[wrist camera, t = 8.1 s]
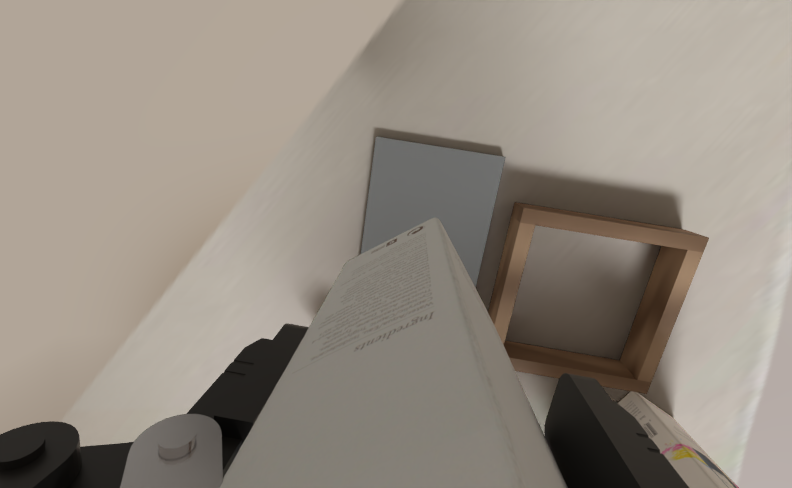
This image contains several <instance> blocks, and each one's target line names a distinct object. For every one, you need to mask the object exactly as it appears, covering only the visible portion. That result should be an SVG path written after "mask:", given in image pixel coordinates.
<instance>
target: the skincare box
mask: <svg viewBox="0 0 792 488" xmlns="http://www.w3.org/2000/svg"><path fill="white" fill-rule="evenodd" d="M220 488H568V487H567V485H566V483H565V481H564V478H563V476H562V474H561V472H560V470H559V467H558V465H557V463H556V461H555V459H554V456H553V454H552V452H551V450H550V447H549V445H548V443H547V441H546V439H545V436H544V434H543V432H542V430H541V428H540V425H539V423H538V421H537V419H536V417H535V414H534V412H533V410H532V408H531V405H530V403H529V401H528V399H527V397H526V394H525V392H524V390H523V388H522V385H521V383H520V381H519V379H518V376H517V374H516V372H515V370H514V367H513V365H512V363H511V361H510V359H509V356H508V354H507V352H506V350H505V347H504V345H503V343H502V341H501V339H500V336H499V334H498V332H497V330H496V328H495V326H494V324H493V322H492V320H491V318H490V316H489V314H488V312H487V310H486V308H485V306H484V304H483V302H482V300H481V298H480V296H479V294H478V292H477V290H476V288H475V286H474V284H473V282H472V280H471V278H470V277H469V275H468V273H467V271H466V269H465V267H464V265H463V263H462V261H461V259H460V257H459V255H458V254H457V252H456V250H455V248H454V246H453V244H452V242H451V240H450V238H449V237H448V235H447V233H446V231H445V229H444V227H443V225H442V223H441V222H440V220H439V219H438V218H432V219H430V220H428V221H426V222H424V223H422V224H420V225H418V226H416V227H414V228H412V229H410V230H408V231H406V232H404V233H402V234H400V235H398V236H396V237H394V238H392V239H390V240H388V241H386V242H384V243H382V244H380V245H378V246H376V247H374V248H372V249H370V250H368V251H366V252H364V253H362V254H360V255H359V256H357V257H355V258H353V259H351V260H349V261H348V262H346V264H345V265H344V267H343V269H342V271H341V273H340V274H339V276H338V278H337V280H336V281H335V283H334V285H333V286H332V288H331V290H330V291H329V293H328V295H327V296H326V299H325V300H324V302H323V304H322V306H321V307H320V309H319V311H318V313H317V315H316V316H315V318H314V320H313V321H312V323H311V325H310V327H309V328H308V330H307V332H306V334H305V336H304V338H303V339H302V341H301V342H300V344H299V346H298V348H297V350H296V351H295V353H294V355H293V357H292V358H291V360H290V362H289V364H288V366H287V367H286V369H285V371H284V373H283V374H282V376H281V378H280V379H279V381H278V383H277V384H276V386H275V388H274V390H273V392H272V394H271V395H270V397H269V398H268V400H267V402H266V404H265V406H264V407H263V409H262V411H261V412H260V414H259V416H258V418H257V420H256V421H255V423H254V425H253V427H252V429H251V430H250V432H249V434H248V436H247V437H246V439H245V441H244V442H243V444H242V446H241V448H240V449H239V451H238V453H237V455H236V457H235V458H234V460H233V462H232V464H231V466H230V467H229V469H228V471H227V472H226V474H225V476H224V477H223V482H222V484H221V486H220Z"/></svg>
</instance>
